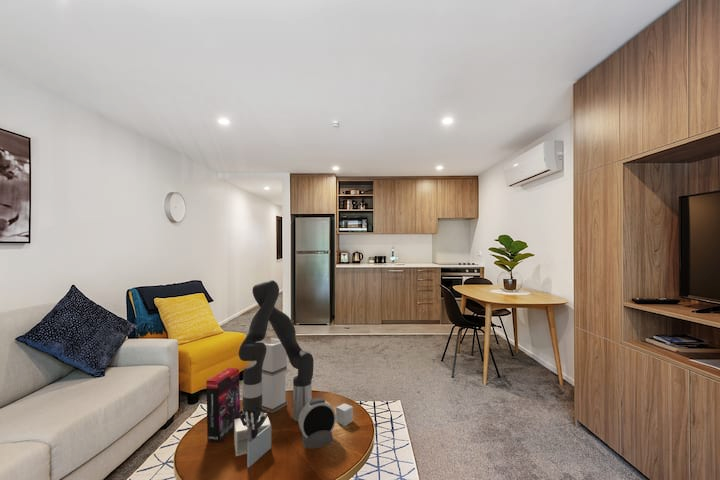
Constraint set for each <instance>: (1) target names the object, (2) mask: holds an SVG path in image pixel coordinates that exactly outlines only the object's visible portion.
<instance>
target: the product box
mask: <svg viewBox="0 0 720 480" xmlns="http://www.w3.org/2000/svg"><path fill="white" fill-rule="evenodd" d="M335 413H336V423H337V424H340V425H341V426H344V427H346V426H348V425H349V424H351V423H353V422H354V407H353V406H352V405H350V404H347V403H342V404H341V405H338V406H336V411H335Z"/></svg>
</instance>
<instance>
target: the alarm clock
mask: <svg viewBox="0 0 720 480" xmlns="http://www.w3.org/2000/svg"><path fill="white" fill-rule="evenodd" d="M312 399H313V400H311V401H310V402H309V403H307V404H306V405H305V406H304V407H303V409H302V410H301V412H300V415H299V420H298V421H297V422H298V427H299V430H300V431H301V434H302V437H301V442H302V444H303V446H304V447H305V449H306V450H311V449H312V450H313V449H319V448H322V447H325V446H327V445H330V444H332V443H333V442H334V437H333V433H332V431H333V430H334V428H335V426H336V423H337V422H336V411H335V409H334V408H333V407H332V406H331V404H330V403H329V402H328V401H327V400H325V399H324V398H323V397H316V398H312Z"/></svg>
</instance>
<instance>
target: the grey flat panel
mask: <svg viewBox="0 0 720 480" xmlns="http://www.w3.org/2000/svg"><path fill="white" fill-rule="evenodd" d="M271 448H272V424H270V425H269V426H268V427H267V428H265V429H264V430H263V431H261V432H260V433H259V434H258V435H257V436H256V437H255V438H254V439H253V438H252V426H250V427H249V428H248V442H247V454H246V455H247V457H246V459H247V463H246V464H247V465H246V466H247V468H250V467H251V466H253V464H254V463H256V462H257V461H258V460H260V458H261V457H263V455H265V454H266V453H267V452H268V451H269V450H271Z"/></svg>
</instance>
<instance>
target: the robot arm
mask: <svg viewBox="0 0 720 480" xmlns="http://www.w3.org/2000/svg"><path fill="white" fill-rule="evenodd" d="M279 287H280V286H279V285H278V283H277V282H276V281H275V280H273V279H272V280H266V281H263V282H260V283H257V284H254V285H253V287H252V295H253V299H254V300H255V302H256V303H257V305H258V307H260V308H259V309H258V310H257V311H256V312H255V314H254V316H253V317H252V320H251V322H250V325H249V330H248V333H247V335H246V336H245V338H244V339H243V342H242V343H241V345H240V347H239V350H238V357H239V359H240V360H241V361H243V362H255V363H254V364H252V365H251V364H250V365H247V366H246V367H245V368H244V369H243V376H242V377H243V380H242V381H243V385H242V409H240V411H239V412H238V415H239V417H240V419H241V422H242V424H243V426H247V428H249V427H250V426H252V438H253V439H254V438H255V437H256V436H257V434H258V428H259V427H260V426H262V424H263V423H264V421H265V419H266V418H267V416H268V413H267V414H264V413H265V412H263V410H262V407H261V406H262V367H263V362H264V359H265V355H266V351H267V348H266V345H265V344H266V343H265V344H264V342H262V341H263V340H265V338H266V335H267V329H268V324H269V323H270V325H271V327H272V329H273V332H274V333H275V334H276V336H277V339H279V340H280V342H281V344H282V345H283V347H284V349H285V351H286V353H287V359H288V361H289V363H290V364H291V367H293V368H295V369H296V370H297V375H296V376H294V377H293V381H292V389H293V390H292V391H293V392H292V393H293V394H292V397H293V398H292V401H293V402H292V403H293V404H292V405H293V406H292V408H293V410H292V416H293V421H294V422H298V420H299V415H300V412H301V410H302V409H303V407H304V406H305V405H306V404H307V403H309V402H310V401H311V400H313V399H314V398H313V397H312V392H313V390H312V379H313V377H314V366H315V365H314V362H315V361H314V357H313V354H312V353H310V352H308V351H305V350H303V349H302V348H301V346H300V345H299V343H298V342H297V339H296V338H297V337H296V335H297V334H296V328H295V325H294V324H293V322H292V320H291V318H290V316H289V315H287V314H286V313H285V312H283V311H282V310H279V309H278V308H277V307H275V306H276V303H277V300H278V297H279V295H280V288H279ZM259 416H260V420H259ZM244 419H245V420H244ZM245 421H246V422H245ZM258 421H259V422H258ZM247 434H248V430H247Z"/></svg>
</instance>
